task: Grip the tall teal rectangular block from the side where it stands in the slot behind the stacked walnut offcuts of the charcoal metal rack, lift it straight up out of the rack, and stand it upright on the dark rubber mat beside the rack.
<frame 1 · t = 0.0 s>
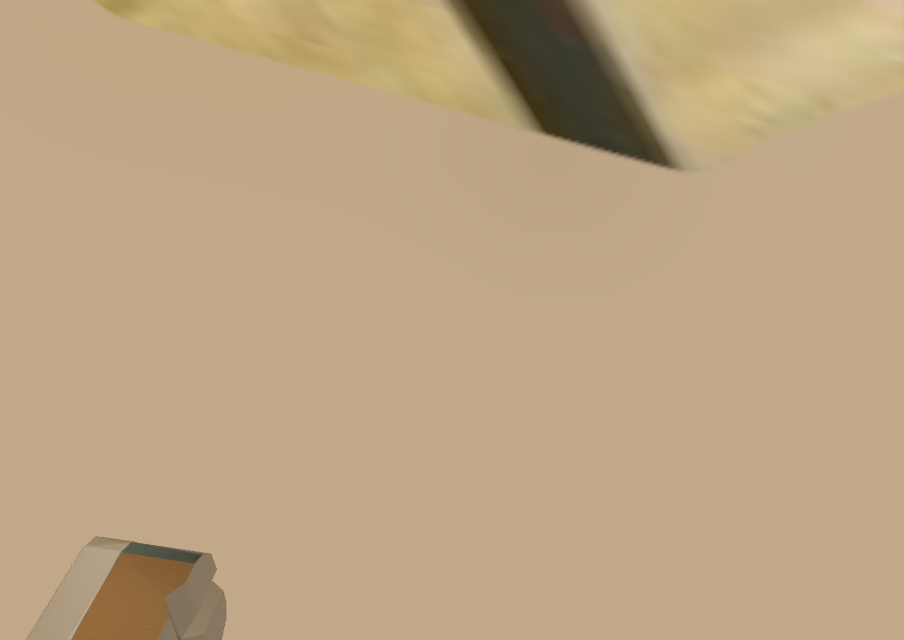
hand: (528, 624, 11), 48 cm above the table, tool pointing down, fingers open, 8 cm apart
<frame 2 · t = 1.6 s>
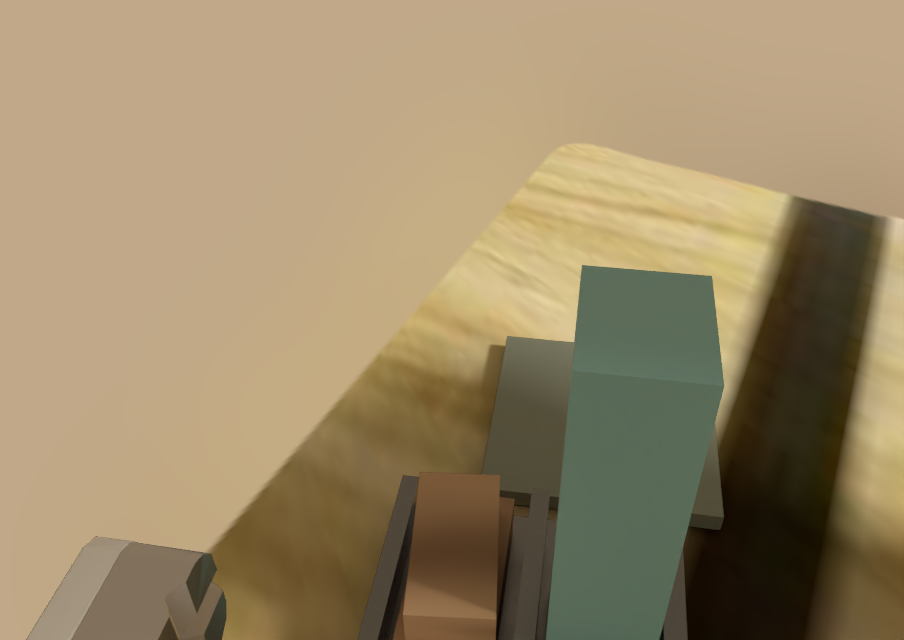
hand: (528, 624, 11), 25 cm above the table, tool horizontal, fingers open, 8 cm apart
lower walnut offcut: (456, 609, 38), point 1 cm above the table, touching rack, upper walnut offcut
rubber mat: (601, 428, 48), on the table
upper walnut offcut: (455, 575, 36), point 3 cm above the table, touching lower walnut offcut
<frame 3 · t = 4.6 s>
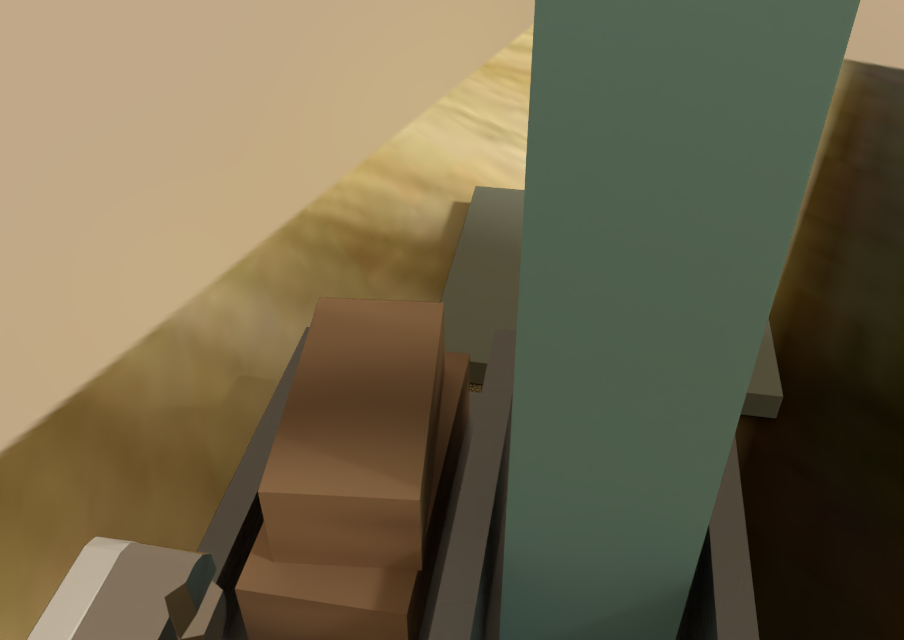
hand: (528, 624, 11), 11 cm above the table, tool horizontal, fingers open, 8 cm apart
lower walnut offcut: (374, 515, 24), point 1 cm above the table, touching rack, upper walnut offcut
teal rectangular block: (585, 575, 23), point 1 cm above the table, touching rack
rack: (582, 597, 23), on the table
rubber mat: (601, 294, 34), on the table
upper walnut offcut: (368, 454, 23), point 3 cm above the table, touching lower walnut offcut
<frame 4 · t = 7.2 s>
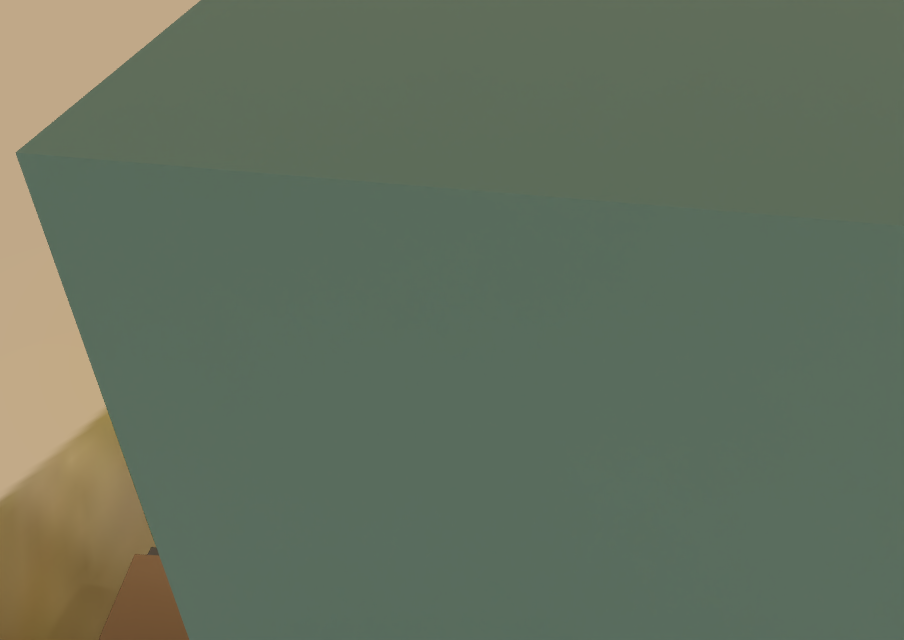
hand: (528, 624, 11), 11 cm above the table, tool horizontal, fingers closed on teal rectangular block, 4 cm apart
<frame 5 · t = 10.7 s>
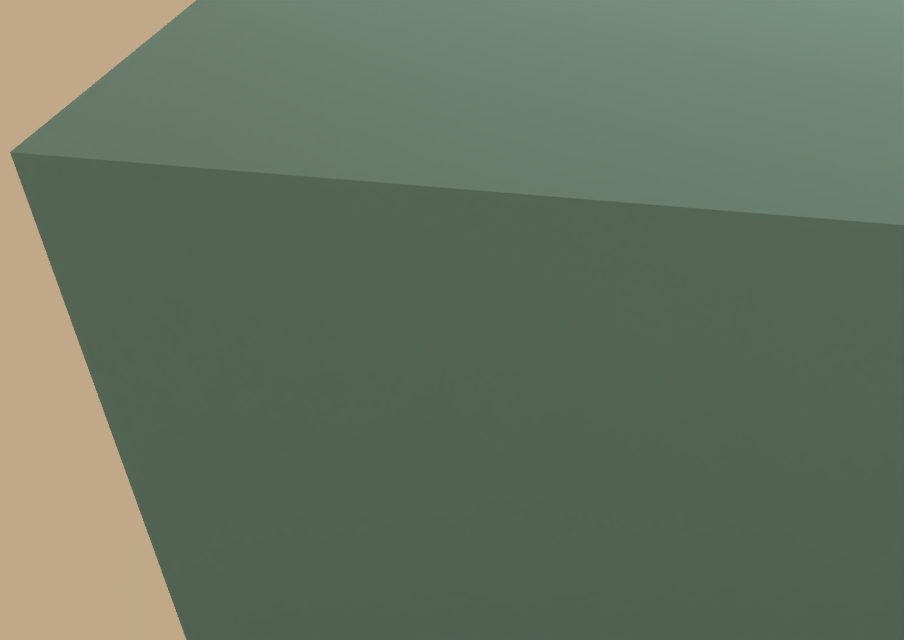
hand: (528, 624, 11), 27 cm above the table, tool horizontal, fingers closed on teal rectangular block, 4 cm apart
when the fingers open (12 cm above the table, at t = 14.4 s): teal rectangular block drops 1 cm, resting on rubber mat.
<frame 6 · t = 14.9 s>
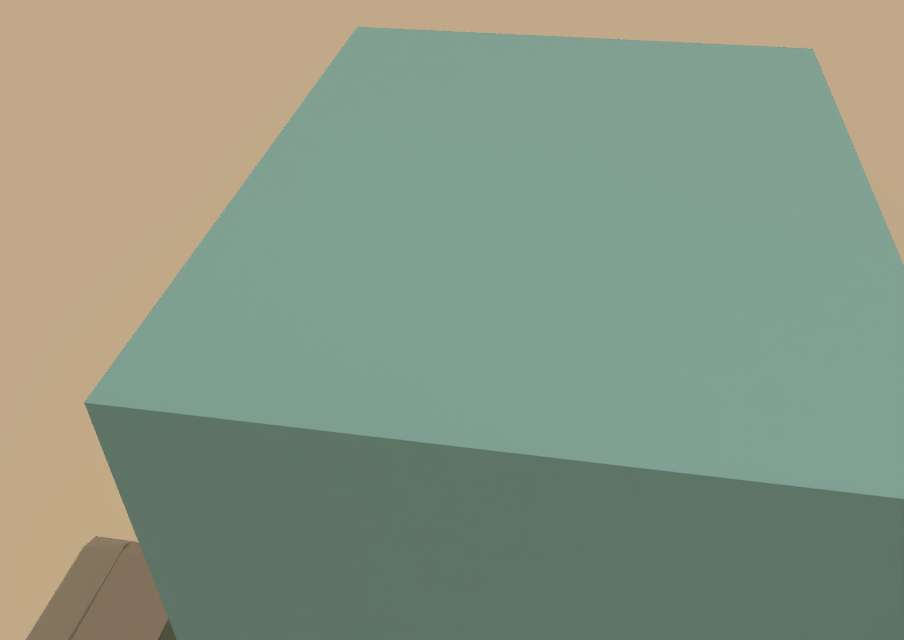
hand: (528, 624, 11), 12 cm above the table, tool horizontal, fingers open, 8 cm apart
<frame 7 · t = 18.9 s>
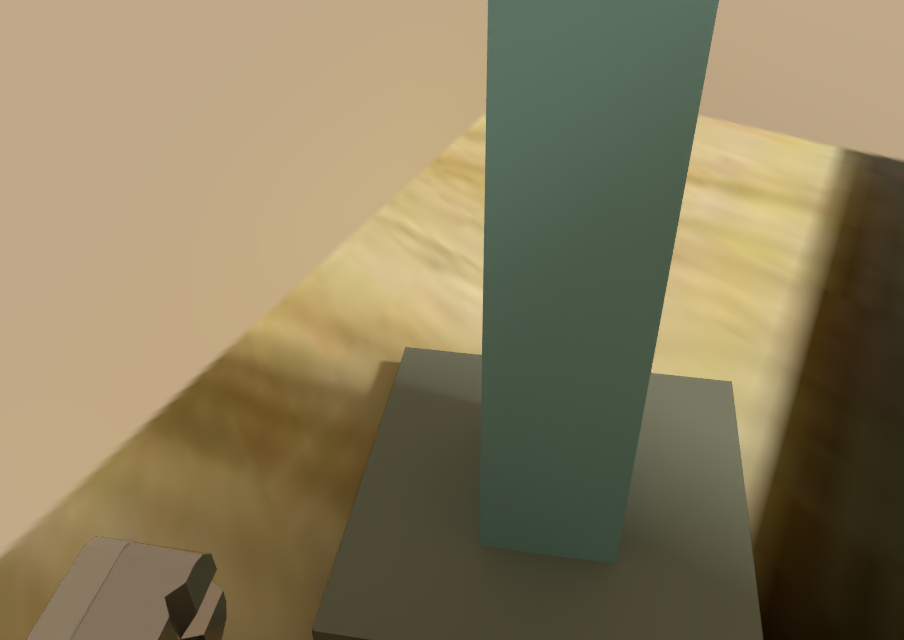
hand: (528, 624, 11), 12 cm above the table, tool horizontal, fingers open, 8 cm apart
teal rectangular block: (553, 489, 27), point 1 cm above the table, touching rubber mat
rubber mat: (549, 508, 28), on the table
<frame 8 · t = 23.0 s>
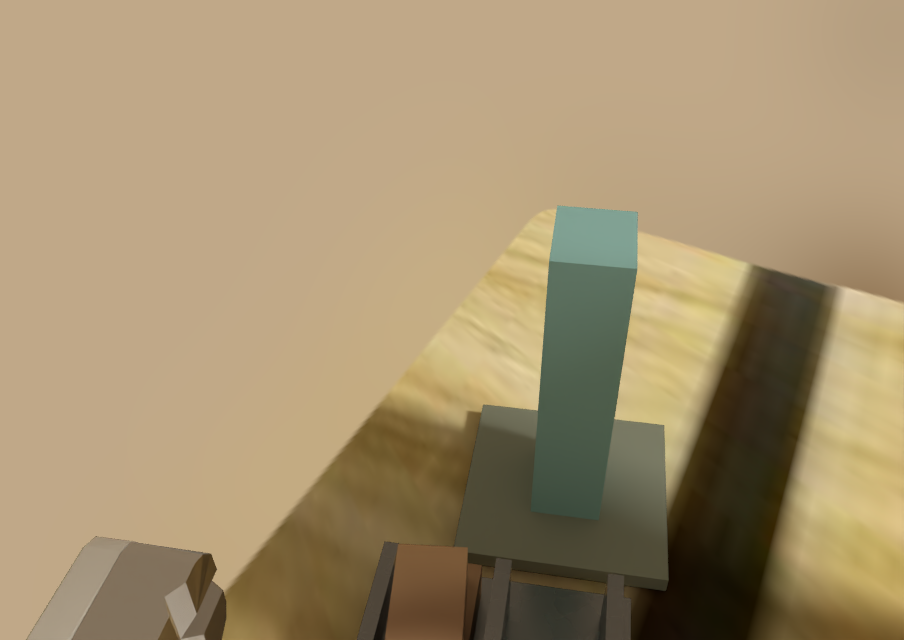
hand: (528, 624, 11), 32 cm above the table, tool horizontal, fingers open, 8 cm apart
teal rectangular block: (567, 483, 52), point 1 cm above the table, touching rubber mat
rubber mat: (565, 493, 53), on the table
upper walnut offcut: (428, 636, 42), point 3 cm above the table, touching lower walnut offcut
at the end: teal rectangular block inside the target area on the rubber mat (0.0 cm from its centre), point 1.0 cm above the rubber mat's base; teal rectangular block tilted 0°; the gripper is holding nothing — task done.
